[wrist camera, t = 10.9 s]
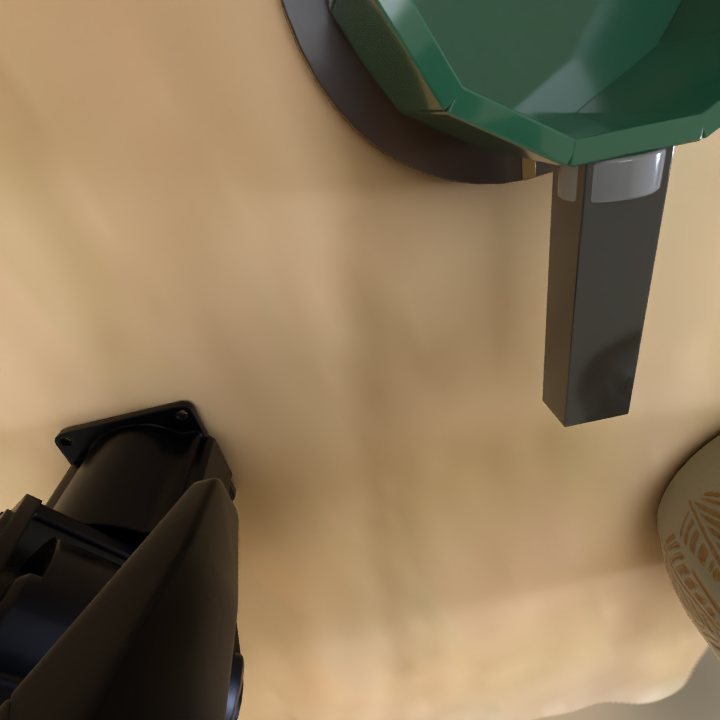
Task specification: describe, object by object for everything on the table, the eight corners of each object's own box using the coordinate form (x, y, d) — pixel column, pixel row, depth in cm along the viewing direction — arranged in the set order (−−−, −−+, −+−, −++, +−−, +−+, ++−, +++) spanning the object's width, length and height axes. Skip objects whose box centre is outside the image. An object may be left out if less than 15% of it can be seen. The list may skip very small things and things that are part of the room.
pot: (232, -561, 9) (115, -1683, 3) (836, -675, 9) (1694, -1943, 3) (388, 369, 20) (420, 467, 14) (654, 314, 20) (786, 390, 14)
